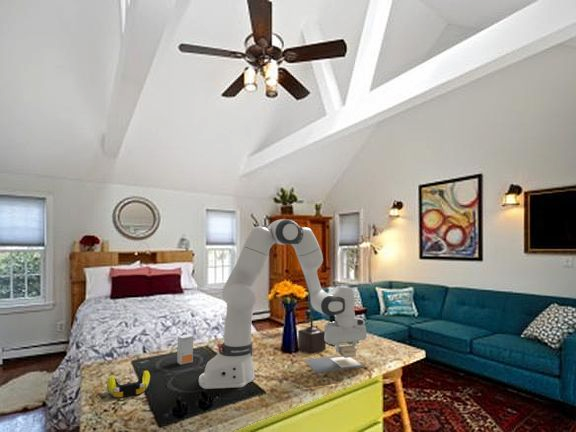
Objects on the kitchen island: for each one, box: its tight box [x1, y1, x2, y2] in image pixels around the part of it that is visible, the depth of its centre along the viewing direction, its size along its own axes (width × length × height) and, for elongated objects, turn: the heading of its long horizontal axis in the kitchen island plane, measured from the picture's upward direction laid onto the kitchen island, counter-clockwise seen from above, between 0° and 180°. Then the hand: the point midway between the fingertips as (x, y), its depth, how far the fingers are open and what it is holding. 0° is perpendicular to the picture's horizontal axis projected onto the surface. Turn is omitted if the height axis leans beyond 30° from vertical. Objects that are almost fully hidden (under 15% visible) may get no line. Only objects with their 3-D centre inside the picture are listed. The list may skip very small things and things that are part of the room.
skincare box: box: [176, 333, 194, 366], centre depth 162 cm, size 6×4×12 cm
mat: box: [303, 355, 366, 374], centre depth 159 cm, size 23×16×1 cm
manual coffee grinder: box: [297, 309, 327, 354], centre depth 182 cm, size 16×11×18 cm
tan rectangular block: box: [335, 342, 357, 358], centre depth 161 cm, size 9×6×4 cm, turn 18°
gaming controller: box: [106, 370, 151, 398], centre depth 131 cm, size 15×6×10 cm
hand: (345, 351), depth 161 cm, fingers closed on tan rectangular block, 5 cm apart
